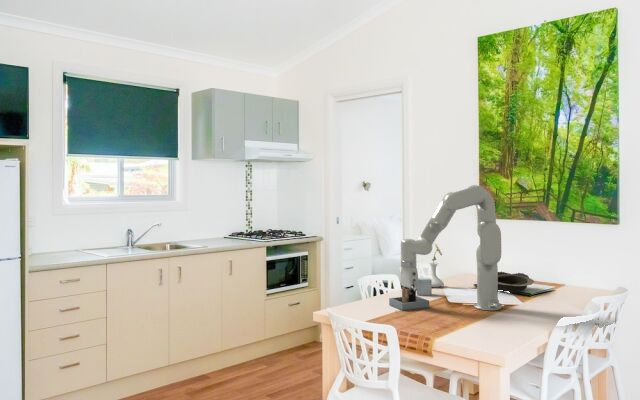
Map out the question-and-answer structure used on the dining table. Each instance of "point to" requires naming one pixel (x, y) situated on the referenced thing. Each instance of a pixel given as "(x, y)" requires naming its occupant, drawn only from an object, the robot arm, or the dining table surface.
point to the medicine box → (424, 286)
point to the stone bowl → (513, 282)
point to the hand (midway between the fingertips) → (409, 300)
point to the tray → (409, 303)
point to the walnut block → (406, 295)
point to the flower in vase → (435, 280)
